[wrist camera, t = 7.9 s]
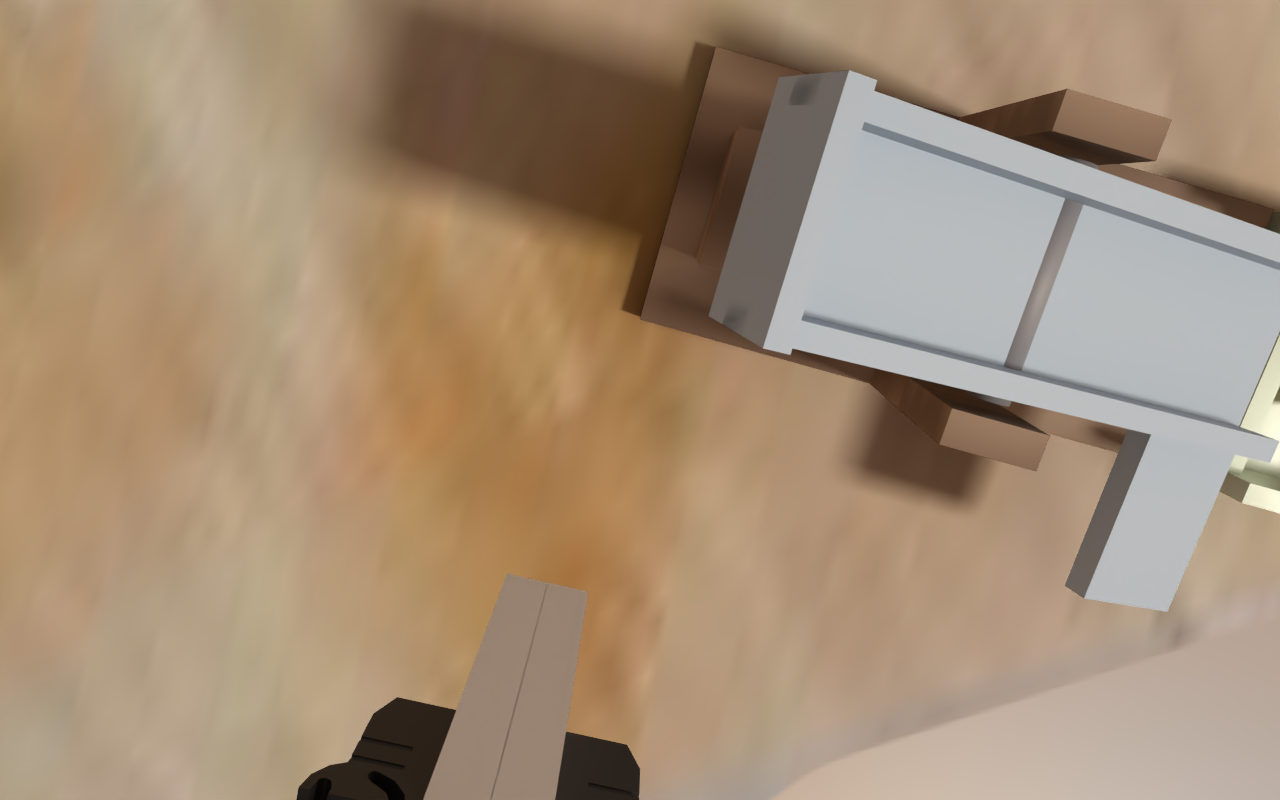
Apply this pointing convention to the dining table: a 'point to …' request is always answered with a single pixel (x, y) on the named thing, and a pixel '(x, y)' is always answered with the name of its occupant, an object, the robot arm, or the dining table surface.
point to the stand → (939, 410)
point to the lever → (1015, 298)
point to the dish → (1269, 413)
